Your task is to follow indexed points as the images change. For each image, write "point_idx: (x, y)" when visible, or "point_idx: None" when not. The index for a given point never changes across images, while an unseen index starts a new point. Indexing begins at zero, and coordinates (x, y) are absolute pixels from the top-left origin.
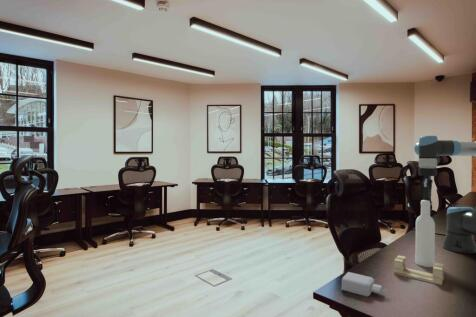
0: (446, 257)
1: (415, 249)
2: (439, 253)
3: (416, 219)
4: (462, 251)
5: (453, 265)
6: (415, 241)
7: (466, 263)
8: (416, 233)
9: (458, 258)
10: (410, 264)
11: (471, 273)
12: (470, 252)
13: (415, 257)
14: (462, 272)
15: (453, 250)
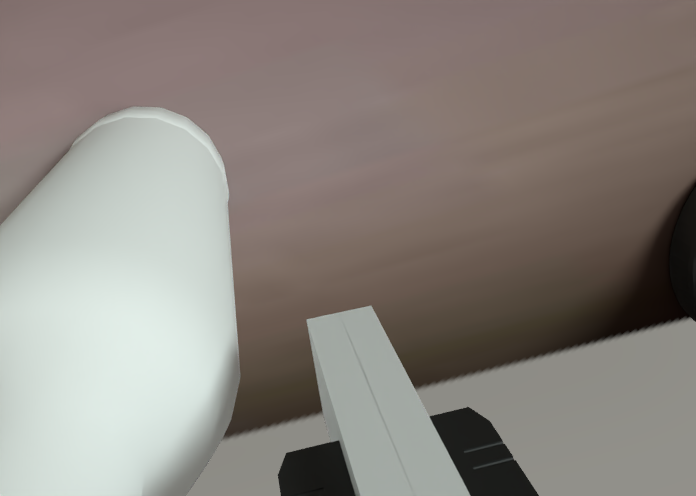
0: (479, 234)
1: (81, 142)
2: (556, 165)
3: (20, 276)
4: (678, 282)
5: None
6: (62, 164)
7: (429, 361)
8: (7, 219)
9: (514, 296)
10: (29, 97)
11: (226, 438)
12: (693, 319)
13: (88, 129)
14: None
15: (680, 226)
